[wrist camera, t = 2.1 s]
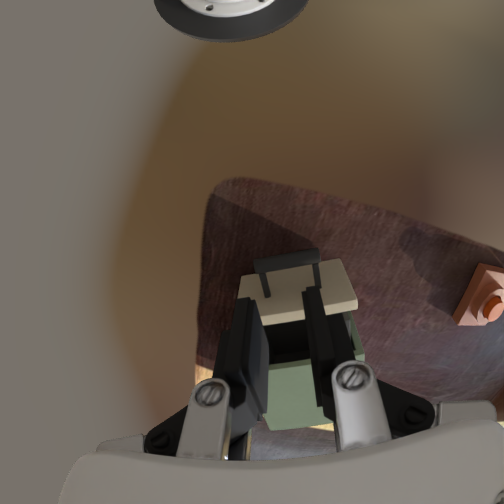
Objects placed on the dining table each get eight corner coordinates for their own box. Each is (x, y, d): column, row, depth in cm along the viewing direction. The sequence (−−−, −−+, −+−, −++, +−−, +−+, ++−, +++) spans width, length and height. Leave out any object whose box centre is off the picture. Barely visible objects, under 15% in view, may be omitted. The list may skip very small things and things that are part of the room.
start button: (490, 295, 28) (496, 301, 27) (501, 296, 28) (507, 302, 27) (479, 314, 30) (484, 321, 28) (491, 315, 30) (496, 321, 28)
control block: (478, 262, 30) (493, 276, 26) (504, 268, 30) (518, 281, 26) (451, 316, 35) (462, 332, 31) (479, 317, 35) (490, 332, 31)
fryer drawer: (231, 243, 30) (219, 282, 23) (335, 223, 28) (355, 258, 21) (265, 354, 38) (263, 398, 31) (344, 341, 36) (355, 384, 29)
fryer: (250, 315, 36) (244, 372, 27) (346, 299, 34) (364, 353, 25) (271, 381, 42) (270, 430, 33) (347, 368, 40) (358, 417, 31)
